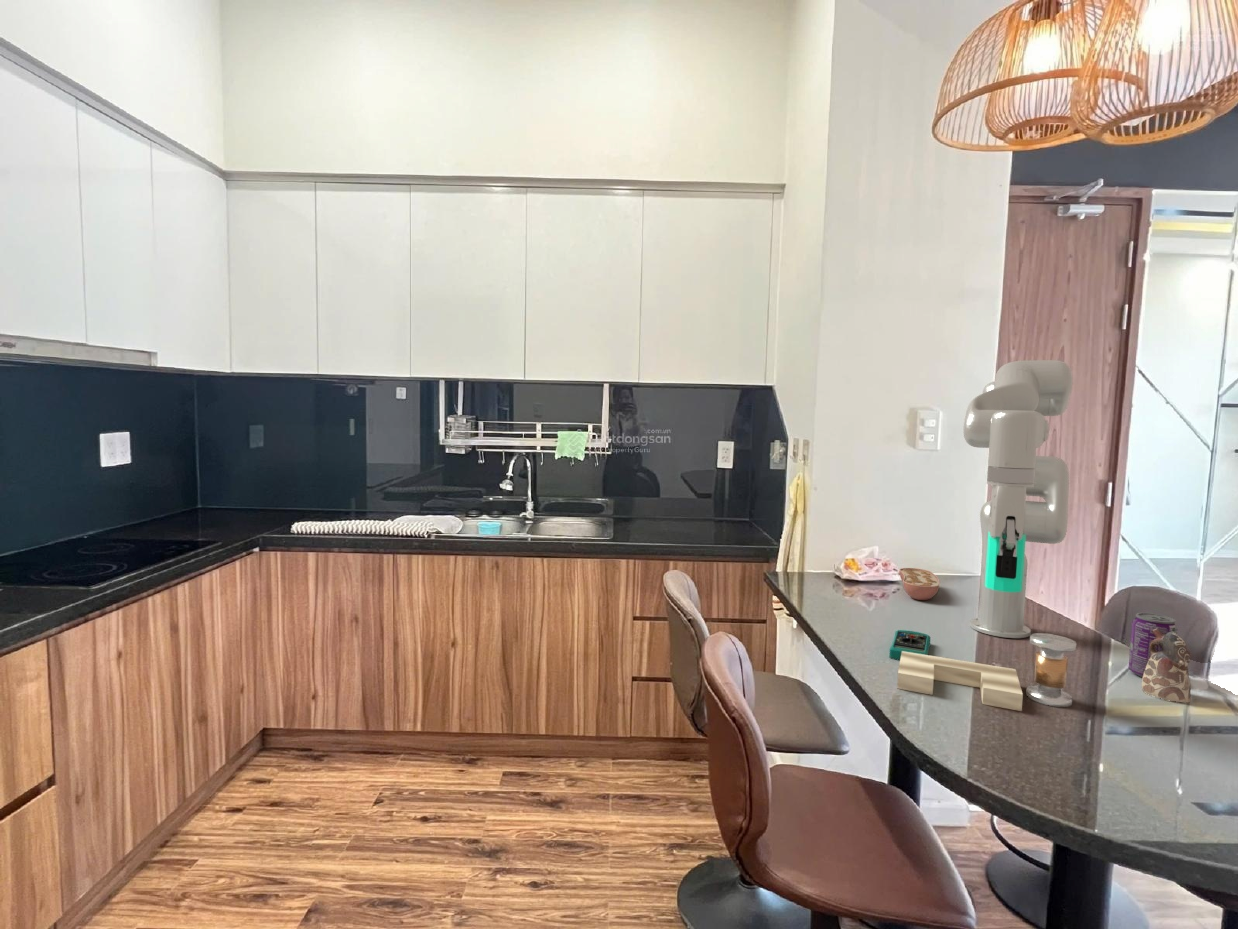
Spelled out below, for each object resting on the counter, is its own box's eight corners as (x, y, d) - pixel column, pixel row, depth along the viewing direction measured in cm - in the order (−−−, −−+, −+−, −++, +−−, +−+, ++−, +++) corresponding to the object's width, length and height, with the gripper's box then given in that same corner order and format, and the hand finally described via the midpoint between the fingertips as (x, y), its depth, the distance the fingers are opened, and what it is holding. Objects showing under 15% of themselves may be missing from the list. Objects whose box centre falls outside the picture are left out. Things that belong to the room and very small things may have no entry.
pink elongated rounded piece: (897, 582, 205) (898, 566, 205) (932, 586, 202) (933, 569, 202) (903, 602, 184) (904, 584, 183) (943, 606, 180) (944, 588, 180)
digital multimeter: (930, 645, 149) (930, 632, 149) (927, 667, 136) (927, 653, 136) (895, 640, 153) (895, 627, 153) (888, 660, 140) (889, 647, 139)
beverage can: (1163, 672, 135) (1168, 614, 134) (1180, 685, 128) (1185, 624, 127) (1122, 667, 137) (1127, 610, 136) (1136, 680, 131) (1141, 620, 130)
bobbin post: (1024, 688, 126) (1028, 631, 125) (1068, 695, 122) (1072, 637, 122) (1028, 702, 119) (1032, 642, 118) (1075, 710, 116) (1079, 649, 115)
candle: (1022, 594, 120) (1026, 528, 119) (984, 589, 123) (988, 524, 123) (1021, 587, 125) (1026, 524, 125) (985, 582, 129) (989, 521, 128)
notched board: (901, 665, 136) (901, 651, 136) (1014, 684, 127) (1015, 669, 127) (897, 688, 124) (897, 672, 124) (1021, 711, 115) (1022, 694, 115)
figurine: (1176, 705, 119) (1182, 640, 118) (1132, 690, 126) (1137, 628, 125) (1199, 699, 122) (1204, 635, 121) (1155, 684, 129) (1160, 624, 128)
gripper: (983, 473, 132) (978, 563, 133) (991, 479, 117) (984, 581, 118) (1027, 475, 129) (1021, 568, 130) (1041, 482, 114) (1034, 587, 115)
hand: (1004, 573), depth 124 cm, fingers closed on candle, 4 cm apart
